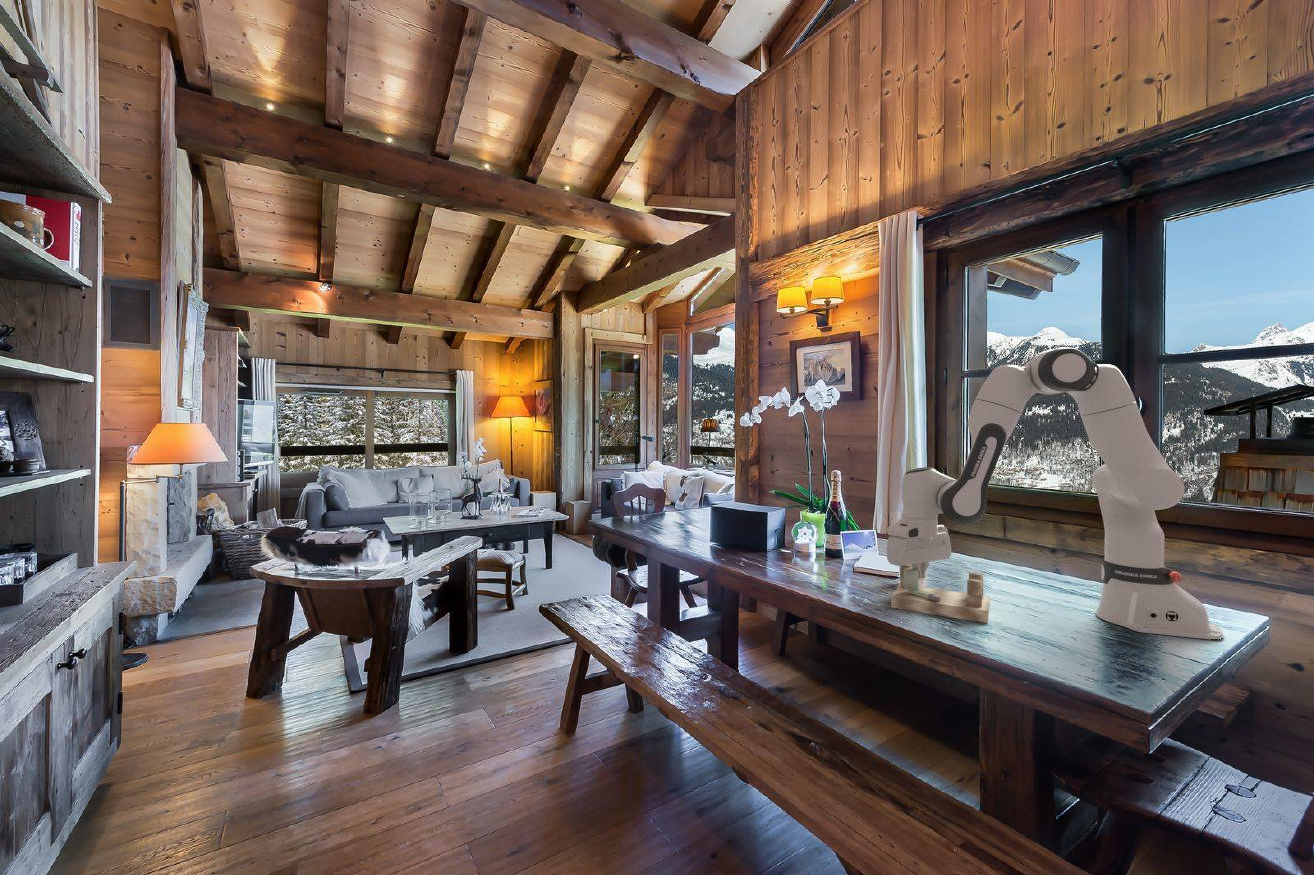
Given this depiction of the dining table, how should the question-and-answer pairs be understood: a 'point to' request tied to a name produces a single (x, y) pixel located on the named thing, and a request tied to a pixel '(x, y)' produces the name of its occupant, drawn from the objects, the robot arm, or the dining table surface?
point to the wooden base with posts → (946, 600)
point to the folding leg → (916, 585)
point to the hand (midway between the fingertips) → (920, 578)
